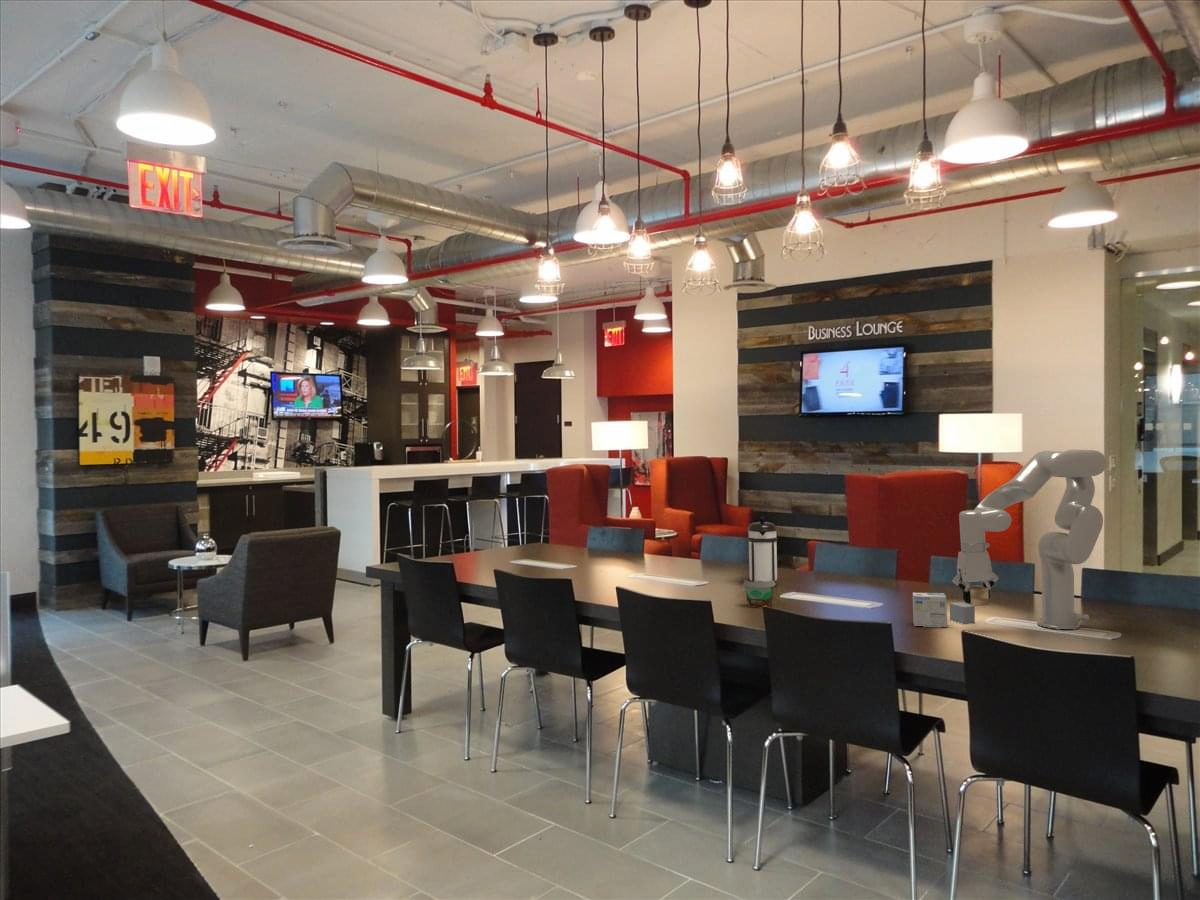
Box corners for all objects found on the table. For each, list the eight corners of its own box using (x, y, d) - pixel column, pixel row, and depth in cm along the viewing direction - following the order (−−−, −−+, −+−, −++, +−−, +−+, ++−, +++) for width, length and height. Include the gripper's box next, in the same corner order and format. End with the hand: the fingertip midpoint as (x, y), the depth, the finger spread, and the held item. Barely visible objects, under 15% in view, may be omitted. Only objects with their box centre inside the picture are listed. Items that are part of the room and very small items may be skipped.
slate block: (960, 619, 295) (960, 602, 295) (974, 623, 288) (974, 606, 288) (950, 620, 293) (949, 603, 293) (963, 624, 287) (963, 607, 287)
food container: (742, 607, 321) (742, 582, 321) (743, 604, 327) (743, 579, 327) (775, 608, 318) (774, 582, 318) (776, 605, 324) (775, 579, 324)
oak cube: (981, 601, 280) (980, 585, 280) (989, 605, 275) (988, 588, 275) (965, 602, 280) (964, 586, 280) (972, 606, 275) (971, 589, 275)
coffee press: (789, 584, 366) (788, 516, 366) (761, 588, 358) (760, 519, 358) (763, 579, 381) (761, 513, 381) (735, 583, 373) (734, 516, 373)
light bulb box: (945, 623, 288) (944, 592, 288) (947, 628, 282) (947, 596, 282) (912, 622, 291) (911, 591, 291) (914, 627, 285) (913, 595, 285)
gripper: (993, 544, 281) (996, 597, 281) (942, 548, 281) (946, 601, 281) (1004, 547, 273) (1008, 602, 274) (952, 551, 273) (956, 606, 274)
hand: (976, 601), depth 278 cm, fingers closed on oak cube, 5 cm apart
